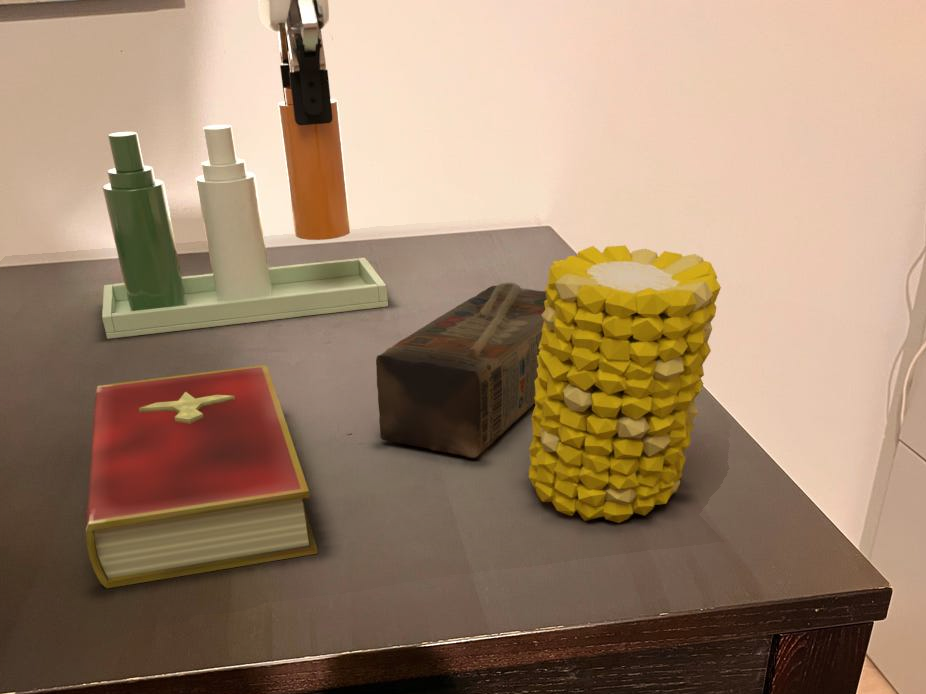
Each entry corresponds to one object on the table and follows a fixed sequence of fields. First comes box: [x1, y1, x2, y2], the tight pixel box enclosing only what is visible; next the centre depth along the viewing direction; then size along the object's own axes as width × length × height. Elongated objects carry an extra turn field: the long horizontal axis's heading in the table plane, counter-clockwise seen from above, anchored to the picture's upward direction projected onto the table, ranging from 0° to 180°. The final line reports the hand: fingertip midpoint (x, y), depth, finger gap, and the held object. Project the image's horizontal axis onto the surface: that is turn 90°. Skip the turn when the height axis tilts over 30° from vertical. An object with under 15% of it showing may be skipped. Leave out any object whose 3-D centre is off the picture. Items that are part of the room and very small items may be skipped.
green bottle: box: [102, 131, 187, 311], centre depth 91 cm, size 5×5×15 cm
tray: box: [101, 257, 389, 340], centre depth 96 cm, size 26×11×2 cm, turn 106°
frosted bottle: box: [195, 124, 272, 302], centre depth 92 cm, size 5×5×15 cm
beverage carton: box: [375, 281, 547, 459], centre depth 73 cm, size 8×19×7 cm, turn 155°
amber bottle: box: [277, 50, 351, 241], centre depth 91 cm, size 5×5×15 cm
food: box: [528, 245, 722, 524], centre depth 58 cm, size 15×12×10 cm
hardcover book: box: [85, 364, 319, 589], centre depth 63 cm, size 12×21×4 cm, turn 16°
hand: (308, 116), depth 90 cm, fingers closed on amber bottle, 5 cm apart
